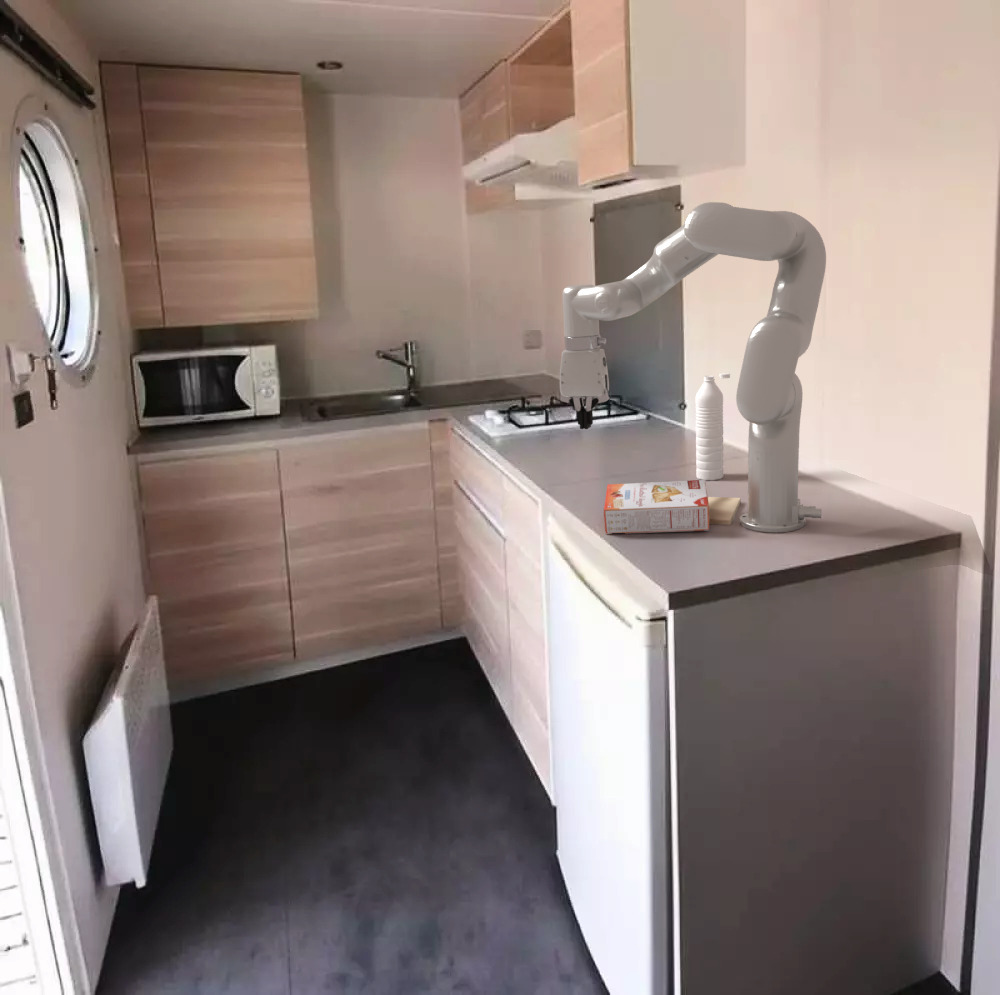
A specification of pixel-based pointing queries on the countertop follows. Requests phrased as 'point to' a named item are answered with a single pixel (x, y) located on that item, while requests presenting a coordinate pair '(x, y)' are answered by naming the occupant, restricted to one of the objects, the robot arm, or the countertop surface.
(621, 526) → the cracker box
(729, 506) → the cutting board
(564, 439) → the countertop surface
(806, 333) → the robot arm
